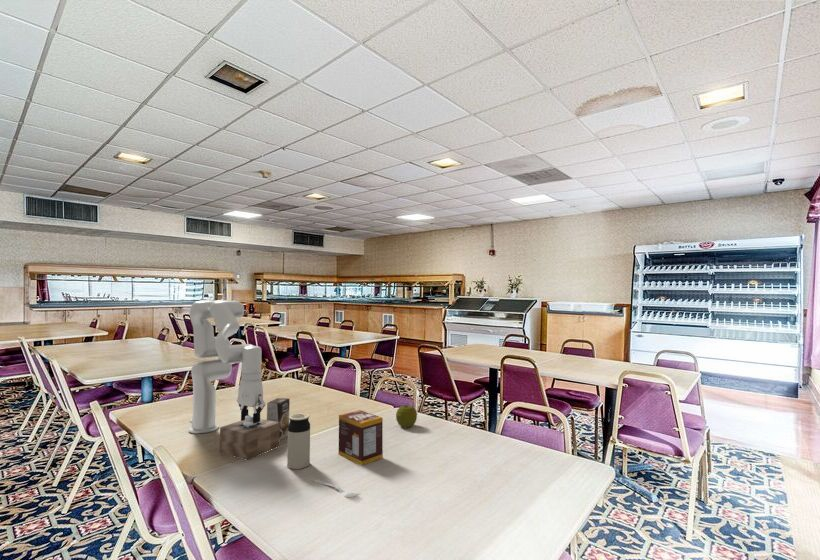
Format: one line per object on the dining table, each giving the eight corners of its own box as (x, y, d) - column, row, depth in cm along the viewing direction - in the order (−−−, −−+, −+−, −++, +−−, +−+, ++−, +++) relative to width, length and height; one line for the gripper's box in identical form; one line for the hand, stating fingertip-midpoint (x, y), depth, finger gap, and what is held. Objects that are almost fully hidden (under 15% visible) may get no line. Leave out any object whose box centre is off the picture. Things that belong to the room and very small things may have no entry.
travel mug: (289, 471, 146) (290, 420, 146) (285, 463, 153) (286, 414, 153) (311, 467, 149) (312, 417, 150) (306, 459, 156) (307, 411, 157)
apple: (392, 428, 193) (392, 405, 193) (400, 422, 202) (401, 400, 202) (412, 431, 189) (412, 407, 190) (419, 425, 198) (419, 402, 199)
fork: (313, 476, 142) (313, 471, 142) (361, 498, 127) (361, 492, 127) (305, 479, 140) (305, 474, 140) (354, 502, 125) (354, 496, 125)
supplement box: (358, 447, 169) (359, 409, 170) (383, 458, 158) (383, 417, 159) (337, 454, 162) (338, 414, 162) (361, 465, 151) (362, 423, 151)
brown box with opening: (219, 452, 163) (220, 427, 163) (252, 440, 177) (252, 416, 177) (247, 460, 155) (248, 433, 155) (279, 446, 169) (279, 422, 170)
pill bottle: (258, 435, 169) (259, 414, 169) (254, 440, 164) (254, 417, 164) (245, 435, 169) (246, 414, 169) (240, 440, 163) (241, 417, 164)
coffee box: (279, 441, 175) (279, 403, 176) (265, 440, 177) (266, 402, 177) (289, 434, 184) (290, 398, 185) (276, 433, 186) (277, 397, 186)
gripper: (229, 376, 168) (228, 420, 167) (259, 380, 160) (258, 427, 159) (244, 373, 174) (243, 415, 174) (273, 377, 166) (272, 421, 166)
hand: (250, 420), depth 166 cm, fingers open, 6 cm apart
